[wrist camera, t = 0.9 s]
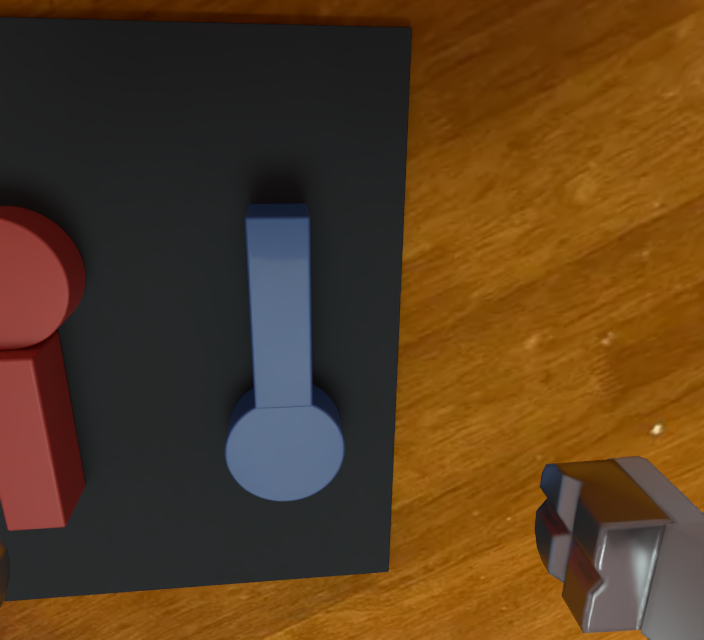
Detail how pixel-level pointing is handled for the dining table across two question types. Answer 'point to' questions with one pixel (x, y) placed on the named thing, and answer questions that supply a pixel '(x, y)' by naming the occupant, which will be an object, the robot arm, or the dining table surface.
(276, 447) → the blue spoon
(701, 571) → the robot arm
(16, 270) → the red spoon
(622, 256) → the dining table surface
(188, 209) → the mat
